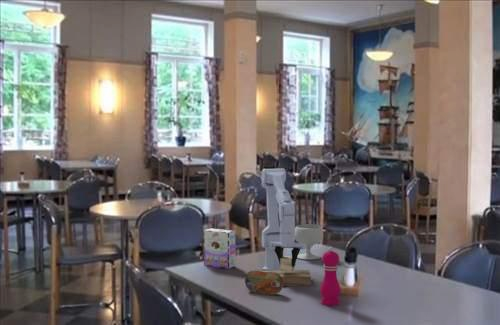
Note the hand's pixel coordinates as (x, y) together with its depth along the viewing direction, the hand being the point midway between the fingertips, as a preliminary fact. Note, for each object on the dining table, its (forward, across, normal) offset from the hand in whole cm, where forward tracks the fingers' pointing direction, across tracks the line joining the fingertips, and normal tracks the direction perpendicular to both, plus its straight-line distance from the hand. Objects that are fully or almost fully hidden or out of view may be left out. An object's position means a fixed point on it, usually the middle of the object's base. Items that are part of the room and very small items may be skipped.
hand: (287, 265), depth 227 cm
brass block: (+7, 0, 0) cm, 7 cm away
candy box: (+7, -36, +15) cm, 40 cm away
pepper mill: (+7, +22, -21) cm, 31 cm away
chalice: (+7, -3, +45) cm, 46 cm away
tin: (+7, -4, -17) cm, 19 cm away
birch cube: (+2, 0, 0) cm, 2 cm away
